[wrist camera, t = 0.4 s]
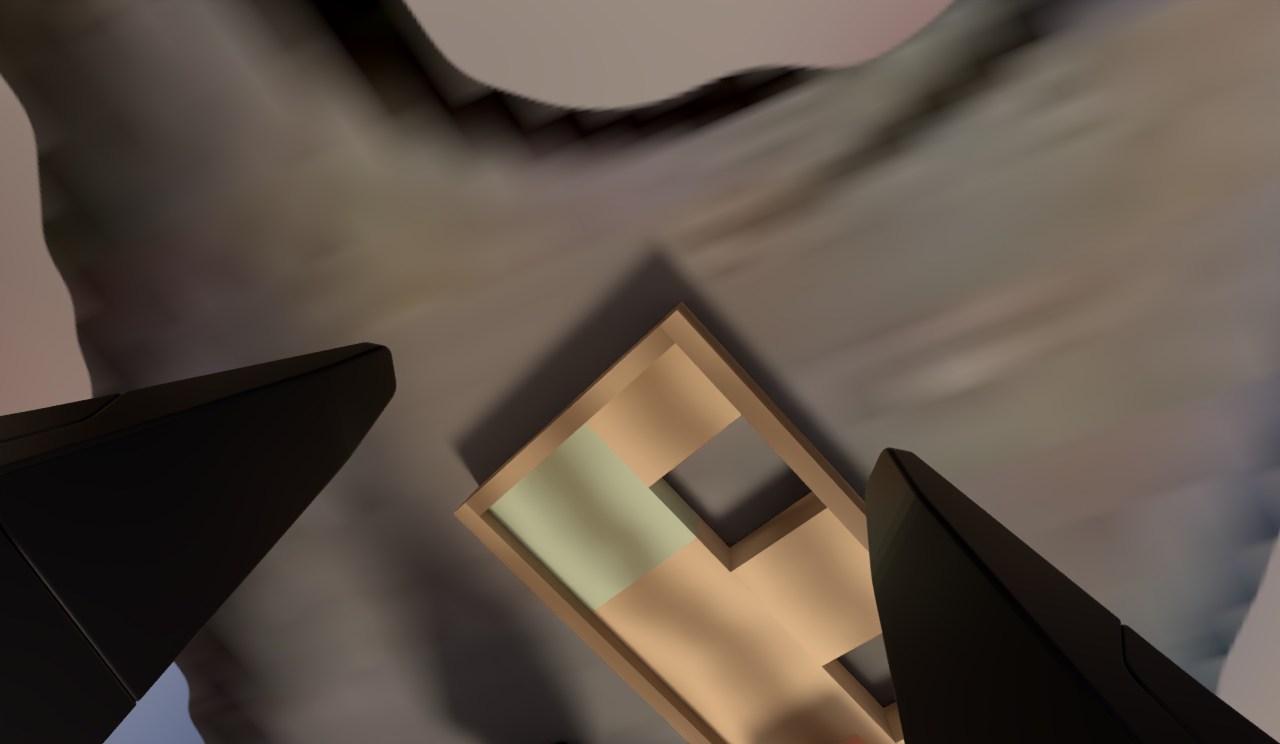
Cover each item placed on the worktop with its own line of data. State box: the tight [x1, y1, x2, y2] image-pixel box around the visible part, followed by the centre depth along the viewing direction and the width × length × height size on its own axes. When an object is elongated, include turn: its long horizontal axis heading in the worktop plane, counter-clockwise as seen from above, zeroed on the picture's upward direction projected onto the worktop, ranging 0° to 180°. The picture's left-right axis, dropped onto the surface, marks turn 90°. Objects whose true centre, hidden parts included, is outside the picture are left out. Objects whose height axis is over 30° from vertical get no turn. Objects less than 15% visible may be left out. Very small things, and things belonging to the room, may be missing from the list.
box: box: [453, 301, 905, 744], centre depth 26 cm, size 16×30×3 cm, turn 44°
